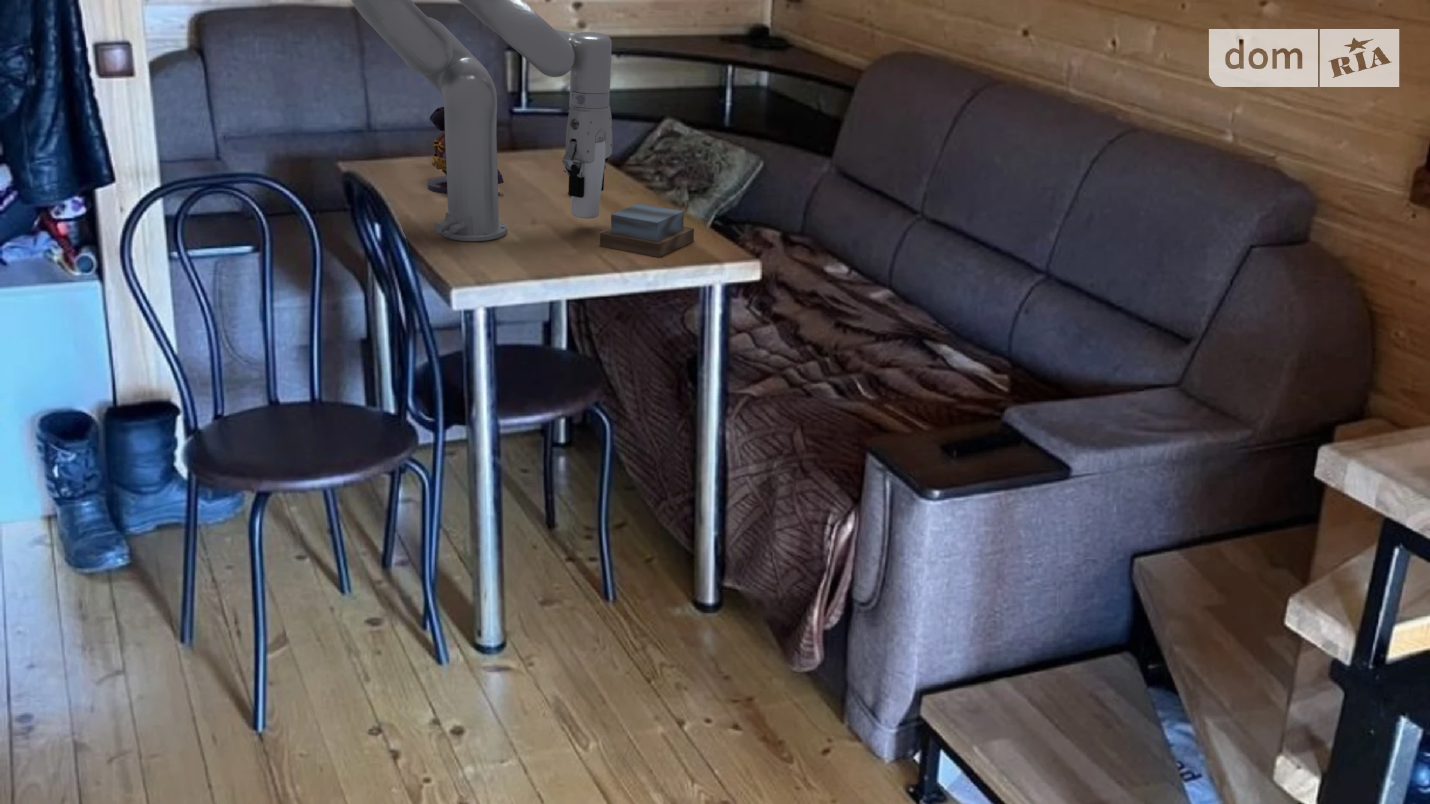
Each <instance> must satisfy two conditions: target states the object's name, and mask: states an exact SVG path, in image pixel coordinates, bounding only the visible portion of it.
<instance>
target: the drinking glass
mask: <svg viewBox="0 0 1430 804" xmlns="http://www.w3.org/2000/svg"><path fill="white" fill-rule="evenodd" d="M574 159H577V160H580V159H579V156H578V153H577V151H576V153H575V155H574ZM574 164H575V165H576V166H577V168H579V163H574ZM604 165H605V141H603V142H599V143H595V158H594V162H592V163H585V164H584V172H583V175H582V177H585V179H584V197H582V198H579V197H574V196H571V215H573V216H574V217H575V218H579V219H595V218H598V216H599V215H600V204H601V196H602V191H601V188H602V180H603V173H604V174H605V170H604Z"/></svg>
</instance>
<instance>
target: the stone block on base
mask: <svg viewBox="0 0 1430 804" xmlns="http://www.w3.org/2000/svg"><path fill="white" fill-rule="evenodd" d="M684 213H685V212H684V210H679V209H673V208H667V207H661V206H655V205H649V204H644V203H636V204H634V205H631V206H629V207H627V208H624V209H622V210H619V211H616V212H614V213H611V214H610V228H609V229H607V230H604V231H602V232H600V233H599V246H600V247H603V248H608V249H614V250H618V251H624V252H630V253H634V254H640V255H645V256H651V257H656V258H661V257H663V256H665V255H667V254H669V253H671V252H674V251H676V250H679V249H680V248H682V247H685V246H686V245H689V244H691V243H693V242H694V241H695V239H694V238H695V228H693V227H686V226H684V223H685V221H684V220H685V219H684V216H685V215H684Z"/></svg>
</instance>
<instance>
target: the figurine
mask: <svg viewBox="0 0 1430 804" xmlns="http://www.w3.org/2000/svg"><path fill="white" fill-rule="evenodd" d="M429 120H430V122H431V123H432V124H433V125H434V127H435V128H436V130H438V131H441V132H442V133H440V135H438V137H437V138H436V139H433V146H432V147H434V152H433V155H432V159H433V160H432V161H431V163H430V164H431V165H432V166H433V167H434V168H435V169H437V170H441V172H442V173H444V175H443V176H437V177H432V178H431V179H429V180H427V189H428V190H429V191H431V192H434V193H439V194H445V195H448V194H447V168H446V148H445V111H444V106H441V107H437V108H436V109H435V110H434V111H433V112H432V114H431V115H430V117H429ZM497 170H498V185H501V184H503V183H505V182H504V179H503V175H502V173H501V172H500V170H499V168H497Z"/></svg>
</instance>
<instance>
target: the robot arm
mask: <svg viewBox="0 0 1430 804" xmlns="http://www.w3.org/2000/svg"><path fill="white" fill-rule="evenodd" d="M457 1H458V2H459V3H460V4H461V5H462V6H464V7H465V8H466V9H467V10H468V11H469V12H471V14H472V15H474V16H475V18H477V19H478V20H479V21H481V23H483V24H484V25H485V26H486V27H488V29H490V30H492V31H493V32H494V33H495V34H497V35H498V36H499V37H500V38H501V39H503V40H504V41H505V42H506V43H507V44H508V45H509V46H510V47H512V49H514V50H515V51H516V52H517V53H518V54H520V56H522V57H523V59H525V60H527V62H528V63H530V65H532V66H533V67H534V68H536V69H537V70H538V72H540V73H542V75H544V76H546V77H550V78H559V77H562V76H564V75H566V74H568V73H570V74H569V75H570V77H569V79H570V80H569V105H568V106H569V112H568V117H567V123H566V124H567V125H566V134H565V154H564V155H563V157H562V161H561V162H562V164H563V165H564V168H565V167H566V170H567V171H568V172H567V173H566V174H567V176H568V191H567V192H568V196H570V197H572V196H574V197H579V198H582V197H584V179H585V177H582V175H583V172H584V164H585V163H592V162H594V158H595V143H599V142H603V141H605V165H604V171H605V170H606V169H607V162H608V161H609V158H610V156H611V155H612V153H613V121H612V118H613V117H612V111H611V106H610V97H611V96H610V93H611V70H612V69H611V68H612V46H613V43H612V39H611V38H610V36H609V35H608V34H606V33H600V32H592V31H587V32H586V31H584V32H583V31H582V32H581V31H580V32H572V31H565V30H560V29H556V28H553V26H552V25H550V24H549V23H548V22H547V21H546V20H545V19H544V18H543V17H541V16H540V15H539V14H538V13H537V12H536V11H535V10H534V9H533V8H532V7H531V6H530V5H529V4H528V3H527V2H526V1H525V0H457ZM351 2H352V4H353V6H354V8H355V10H357V11H358V13H359V14H360V16H361V17H362V18H363V20H365V21H366V23H368V24H369V26H371V28H373V30H374V31H376V33H377V34H378V35H379V36H380V37H381V38H382V39H383V40H384V42H386V44H388V45H389V46H390V48H391V49H392V50H393V51H394V52H395V53H396V54H397V55H398V56H399V57H400V58H401V60H403V61H404V63H405V64H406V65H407V66H408V68H410V69H411V70H412V71H413V72H415V73H417V74H420V75H422V76H423V77H424V78H425V80H427V81H428V82H429V83H430V84H431V85H432V86H433V87H434V88H435V89H436V90H437V91H438V92H439V93H440V94H441V95H442V97H443V107H444V111H445V131H444V132H445V148H446V168H447V194H446V195H447V212H446V213H445V219H443V221H439V222H437V223H434V225H433V229H434V231H435V232H436V233H437V234H441V235H442V236H443V237H444V238H447V239H450V240H453V241H454V240H455V241H461V242H462V241H463V242H486V241H493V240H496V239H500V238H503V237H504V236H506V234H508V226H507V225H506V224H505V223H503V222H501V221H500V219H499V216H500V215H499V184H498V170H499V169H498V149H497V148H498V145H497V144H498V143H497V138H498V137H497V122H498V121H497V120H498V119H497V117H498V116H497V115H498V114H497V113H498V97H497V95H498V94H497V90H496V86H495V83H494V81H493V79H492V77H491V75H490V73H489V72H488V70H487V68H485V66H484V65H483V64H482V63H481V61H479V60H478V59H477V58H476V56H474V54H472V53H471V51H470V50H468V49H467V48H466V47H465V46H464V44H462V43H461V41H460V40H459V39H458V38H457V37H456V36H455V35H454V34H453V33H452V32H451V31H450V30H449V29H448V28H447V27H446V26H445V25H444V24H443V23H441V22H440V21H439V20H437V19H435V18H433V17H430V16H427V15H426V13H424V12H423V11H422V10H421V9H420V8H419V6H417V5H416V4H415V2H414V1H413V0H351ZM576 151H577V153H578V156H579V159H580V160H577V159H574V155H575V153H576ZM574 163H579V168H577V166H576V165H575V164H574ZM497 169H498V170H497ZM604 184H605V172H604V173H603V180H602V188H601V192H604V188H605V185H604Z"/></svg>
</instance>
